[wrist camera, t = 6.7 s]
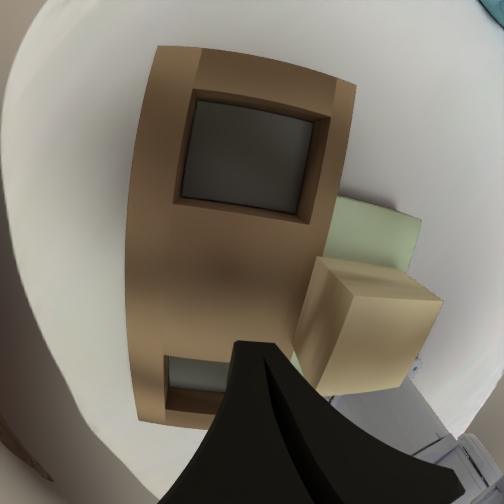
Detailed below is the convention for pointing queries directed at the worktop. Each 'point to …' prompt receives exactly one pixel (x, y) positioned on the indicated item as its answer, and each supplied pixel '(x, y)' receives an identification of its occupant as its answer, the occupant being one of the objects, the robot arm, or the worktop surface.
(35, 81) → the worktop surface
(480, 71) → the worktop surface
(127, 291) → the tray
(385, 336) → the birch block
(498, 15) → the teapot
